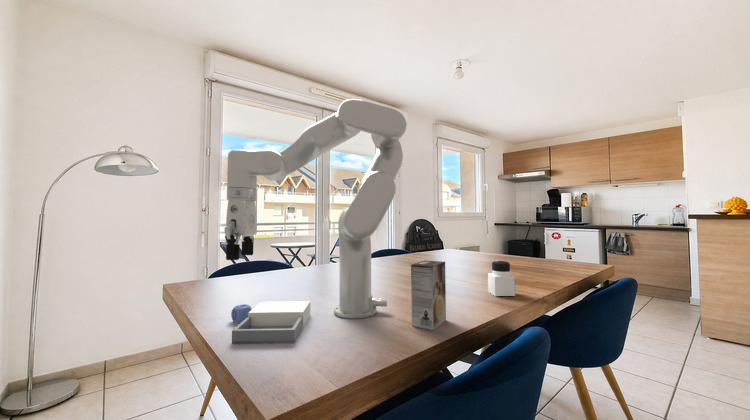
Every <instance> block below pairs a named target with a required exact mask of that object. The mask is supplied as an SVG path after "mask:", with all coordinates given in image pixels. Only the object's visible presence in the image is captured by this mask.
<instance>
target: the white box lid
mask: <svg viewBox="0 0 750 420" xmlns="http://www.w3.org/2000/svg"><path fill="white" fill-rule="evenodd" d="M300 316H303V328H304V327H305V325H306V323H307V322H308V320H309V318H310V317H311V300H303V301H302V300H296V301H295V300H294V301H291V300H290V301H281V300H280V301H278V300H277V301H261V302H259V303H258V304H257V305H255V307H253V308H252V310H251V311H250V312H248V317H251V326H294V324H295V323H296V321H297V320H298V318H299V317H300Z"/></svg>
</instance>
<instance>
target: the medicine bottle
mask: <svg viewBox="0 0 750 420" xmlns="http://www.w3.org/2000/svg"><path fill="white" fill-rule="evenodd" d="M510 273H511V264H510V262H508V261H506V260H495V261H492V262H491V272H489V273H487V292H488V293H489V294H490V293H491V294H490V295H491V296H493V295H494V296H493V297H495V296H515V297H516V277H515V276H514V275H512V274H510Z"/></svg>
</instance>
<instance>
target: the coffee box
mask: <svg viewBox="0 0 750 420" xmlns="http://www.w3.org/2000/svg"><path fill="white" fill-rule="evenodd" d="M410 275H411V276H410V277H411V279H410V280H411V282H410V283H411V288H410V289H411V292H410V293H411V296H410V297H411V326H412V327H415V328H421V329H425V330H430V331H436V329H437V328H438V327H439V326H441V325H442V324H443V323H444V322H446V320H447V302H446V300H447V299H446V296H447V295H446V293H447V291H446V289H447V288H446V261H438V260H427V259H426V260H422V261H419V262H416V263H415V262H414V263H412V264H411V265H410Z"/></svg>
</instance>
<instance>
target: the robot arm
mask: <svg viewBox="0 0 750 420" xmlns="http://www.w3.org/2000/svg"><path fill="white" fill-rule="evenodd" d="M406 130H407V120H406V118H405V115H403V113H402V112H400V111H399V110H397V109H395V108H392V107H389V106H385V105H381V104H377V103H373V102H369V101H367V100H366V101H365V100H361V99H357V98H356V99H355V98H350V99H345V100H344V101H343V102H341V103H340V105H339V107H338V109H337V112H335V113H333V114H331V115H329V116H327V117H325V118H323V119H322V120H319V121H318V122H316V123H314V124H312V125H310V126H308V127H307V128H306V129H304V131H303V132H302V133H301V134H300V135H299V137H298V138H297V139H296V140H295V141H294V142H293V143H291V144H290V145H289V146H287V147H286V148H284V149H283V150H281V151H276V150H274V149H260V150H246V149H231V150H230V151H229V152H228V153H227V172H226V173H227V175H226V176H227V177H226V179H227V180H226V181H227V182H226V200H227V201H228V202H227V209H226V219H225V227H224V234H225V236H224V238H225V245H226V249H225V254H226V255H225V260H226V261H238V260H240V249H241V256H253V255H254V241H255V237H254V236H255V235H256V234H257V232H258V229H257V228H258V222H257V205H256V201H257V183H258V182H257V181H258V180H257V179H258V176H261V177H264V178H265V179H267V180H268V181H269V180H270V181H279V180H282V179H284V178H285V177H287V176H289V175H291V174H293V173H295V172H296V171H298V170H301V168H303V167H305V166H306V165H308V164H309V163H310V162H313V161H314V160H316V159H317V158H319V157H321V156H322V155H323V154H325V153H327V152H329V151H330V150H333V149H334V148H336V147H338V146H339V145H341V144H343V143H345V142H347V141H349V140H350V139H352V138H354V137H355V136H357V135H358V134H359V133H360V132H364V133H367V134H370V137H371V140H372V142H373V145H374V147H375V156H374V157H373V159H372V162H371V164H370V166H369V168H368V169H367V171H366V173H365V175H364V176H363V178H362V179H361V180H360V181H359V183H358V185H357V191H356V194H355V196H354V197H353V200H352V202H351V203H350V205H349V206H347V207H346V208H344V209H343V211H342V212H341V213H340V215H339V217H338V224H337V225H338V226H337V227H338V228H337V229H338V244H339V246H338V248H339V251H338V252H339V257H338V259H339V261H338V262H339V263H338V264H339V269H338V270H339V271H338V272H339V273H338V276H339V277H338V278H339V281H338V282H339V287H338V288H339V289H338V291H339V304H338V305H336V306H335V307H334V310H333V312H334V315H336V317H339V318H344V319H364V318H369V317H372V316H374V315H375V314H377V312H378V311H377V307H388V301H387V299H383V298H375V297H373V294H372V243H371V241H372V240H371V237H372V235H374V233H375V232H376V231H377V229H378V227H379V226H380V224H381V222H382V221H383V219H384V217H385V215H386V214H387V212H388V210H389V208H390V206H391V204H392V203H393V200H394V198H395V195H396V189H397V188H396V182H395V179H396V177H397V175H398V173H399V171H400V169H401V167H402V164H403V159H404V155H403V154H404V153H403V152H404V151H403V149H402V145H401V141H400V140H399V139H401V138H402V137H403V135H404V134H405V132H406ZM241 238H242V241H241V245H240V244H239V242H240V239H241ZM240 246H241V247H240Z"/></svg>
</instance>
